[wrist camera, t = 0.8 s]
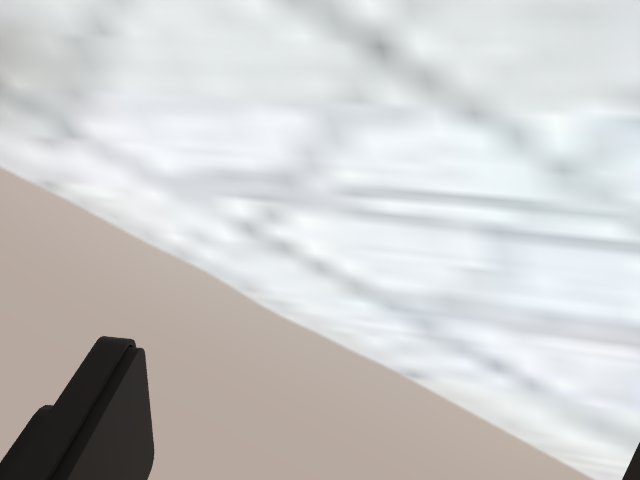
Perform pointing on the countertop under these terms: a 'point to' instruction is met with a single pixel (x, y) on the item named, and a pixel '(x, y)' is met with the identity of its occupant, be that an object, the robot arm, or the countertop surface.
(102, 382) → the robot arm
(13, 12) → the countertop surface
